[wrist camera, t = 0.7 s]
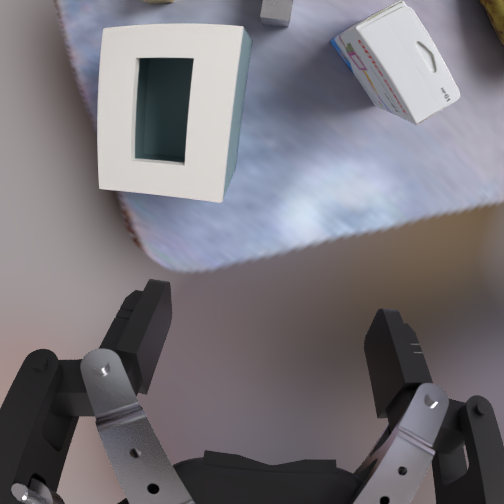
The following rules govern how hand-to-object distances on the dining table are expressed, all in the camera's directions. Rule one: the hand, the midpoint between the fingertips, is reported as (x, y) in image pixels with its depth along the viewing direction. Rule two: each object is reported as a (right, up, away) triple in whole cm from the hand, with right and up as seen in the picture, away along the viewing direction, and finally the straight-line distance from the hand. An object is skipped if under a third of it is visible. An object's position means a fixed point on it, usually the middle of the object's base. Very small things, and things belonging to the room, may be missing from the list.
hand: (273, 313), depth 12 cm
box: (-7, +18, +18) cm, 27 cm away
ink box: (+11, +21, +15) cm, 29 cm away
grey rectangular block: (+2, +27, +12) cm, 30 cm away
